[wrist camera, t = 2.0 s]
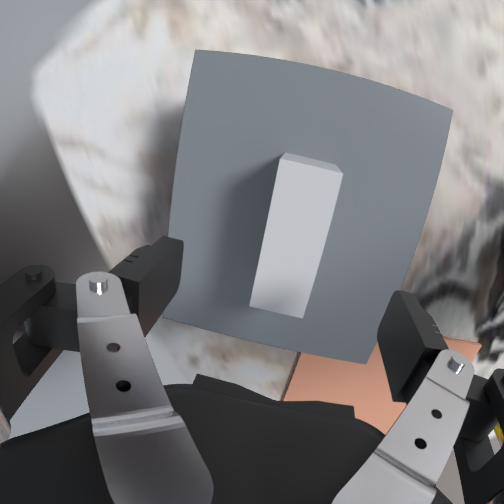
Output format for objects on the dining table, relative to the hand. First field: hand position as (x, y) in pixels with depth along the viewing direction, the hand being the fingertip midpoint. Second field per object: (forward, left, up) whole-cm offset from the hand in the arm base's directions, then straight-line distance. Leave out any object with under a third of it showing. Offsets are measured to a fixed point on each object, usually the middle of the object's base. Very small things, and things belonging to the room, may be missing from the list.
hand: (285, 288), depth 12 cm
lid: (0, 0, -10) cm, 10 cm away
